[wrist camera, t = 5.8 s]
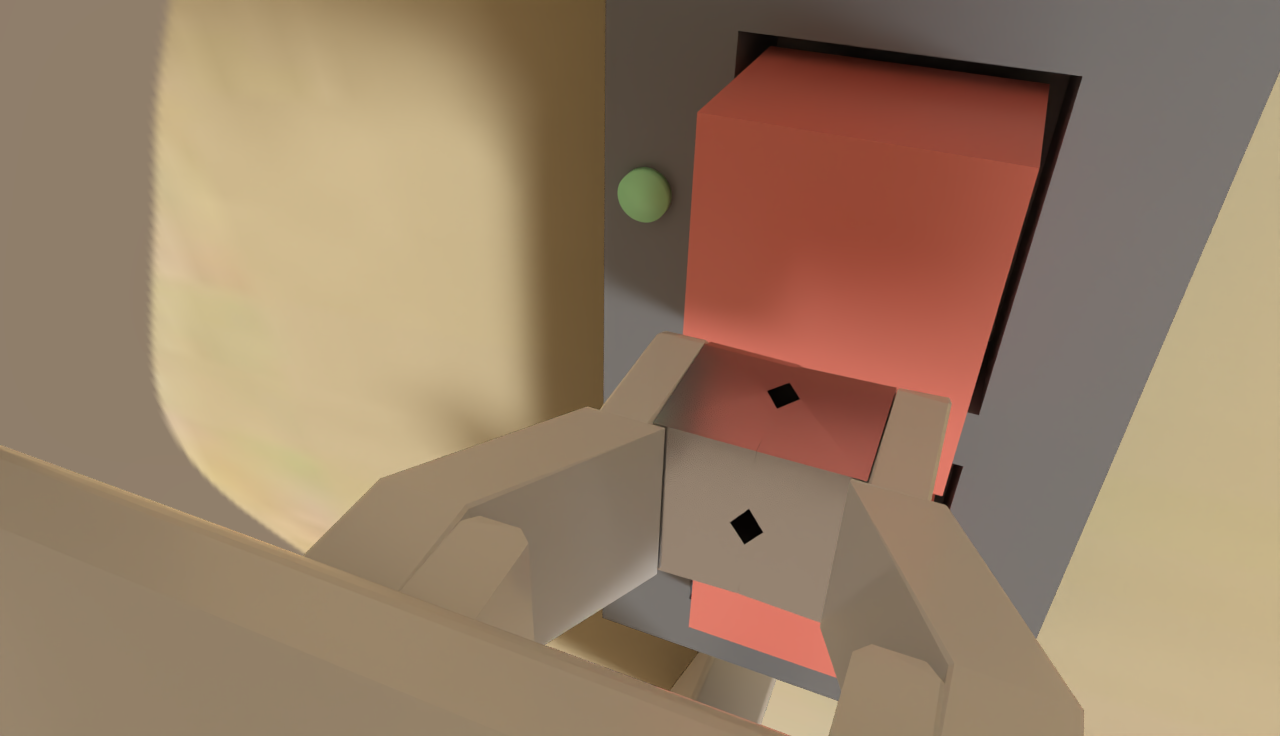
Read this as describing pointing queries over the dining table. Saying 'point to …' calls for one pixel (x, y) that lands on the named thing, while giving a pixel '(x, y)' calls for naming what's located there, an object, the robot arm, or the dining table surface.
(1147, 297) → the power strip
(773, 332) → the button
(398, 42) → the dining table surface
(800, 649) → the button
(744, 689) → the lighter
